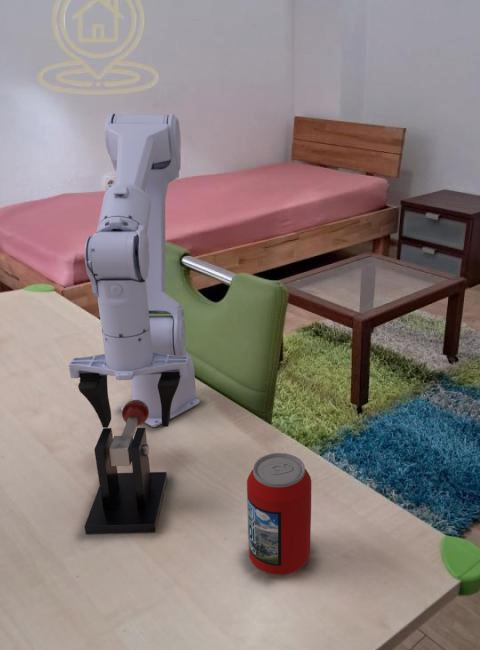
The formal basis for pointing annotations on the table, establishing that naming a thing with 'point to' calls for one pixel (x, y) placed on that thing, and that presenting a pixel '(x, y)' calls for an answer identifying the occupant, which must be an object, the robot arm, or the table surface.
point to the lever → (128, 432)
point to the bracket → (126, 490)
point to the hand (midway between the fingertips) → (136, 423)
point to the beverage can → (279, 513)
